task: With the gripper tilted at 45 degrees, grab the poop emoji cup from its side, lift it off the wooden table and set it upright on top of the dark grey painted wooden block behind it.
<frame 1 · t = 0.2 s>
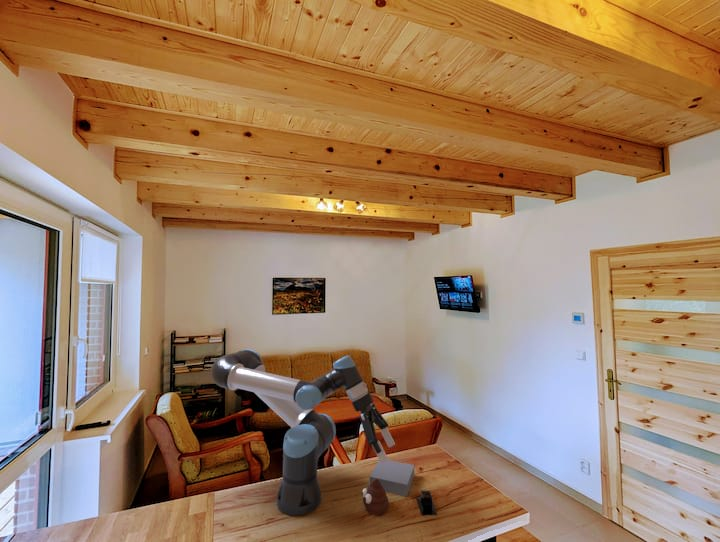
hand: (388, 453, 117), 15 cm above the table, tool tilted 30°, fingers open, 13 cm apart
black mounting bracket: (426, 508, 112), on the table
poop emoji: (375, 507, 112), on the table
grey block: (392, 481, 126), on the table
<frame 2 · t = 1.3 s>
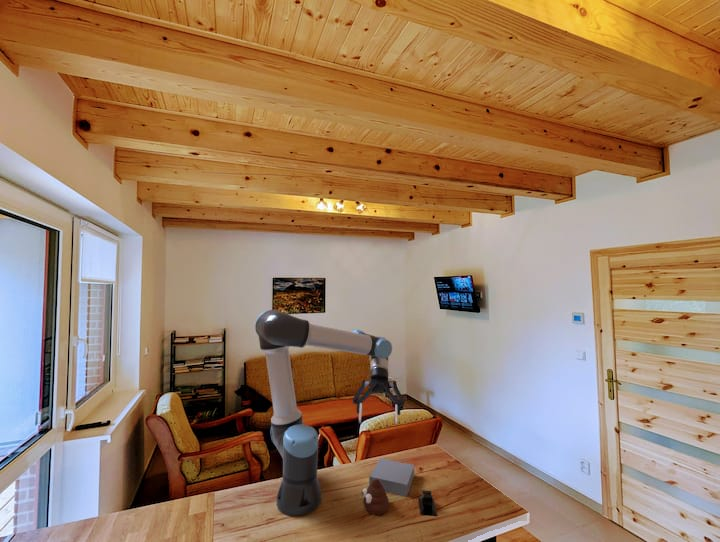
hand: (378, 422, 123), 23 cm above the table, tool tilted 45°, fingers open, 13 cm apart
nothing on the table moved.
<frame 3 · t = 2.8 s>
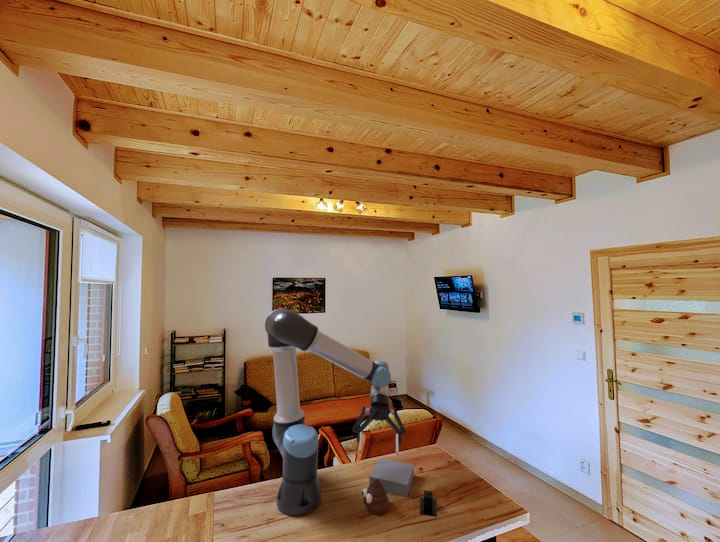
hand: (378, 452, 121), 13 cm above the table, tool tilted 45°, fingers open, 13 cm apart
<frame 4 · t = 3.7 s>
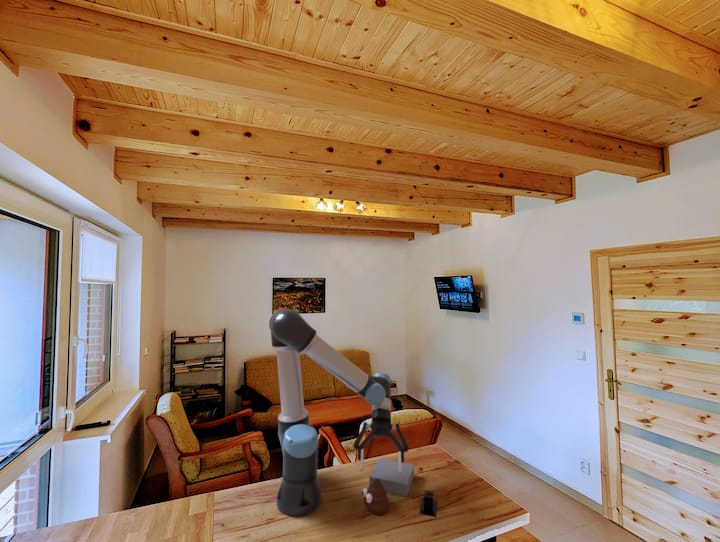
hand: (380, 471, 116), 9 cm above the table, tool tilted 45°, fingers open, 13 cm apart
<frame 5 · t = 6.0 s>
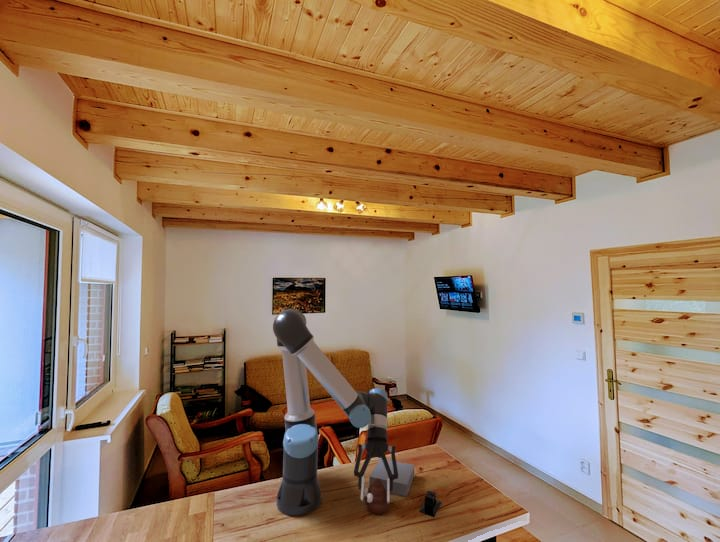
hand: (375, 501, 108), 4 cm above the table, tool tilted 45°, fingers closed on poop emoji, 8 cm apart
poop emoji: (376, 506, 112), on the table, touching gripper
when the fingers open (9 cm above the table, at t = 10.2 s): poop emoji drops 1 cm, resting on grey block.
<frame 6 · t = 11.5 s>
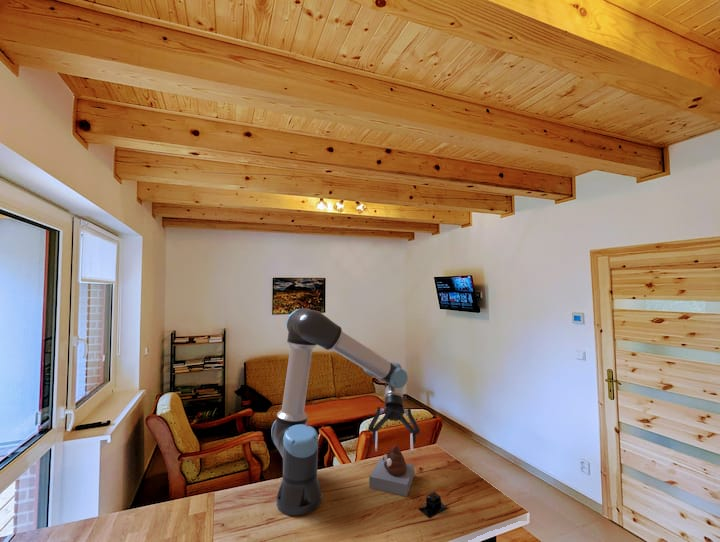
hand: (393, 451, 126), 11 cm above the table, tool tilted 45°, fingers open, 13 cm apart
black mounting bracket: (433, 510, 111), on the table
poop emoji: (394, 470, 127), point 4 cm above the table, touching grey block
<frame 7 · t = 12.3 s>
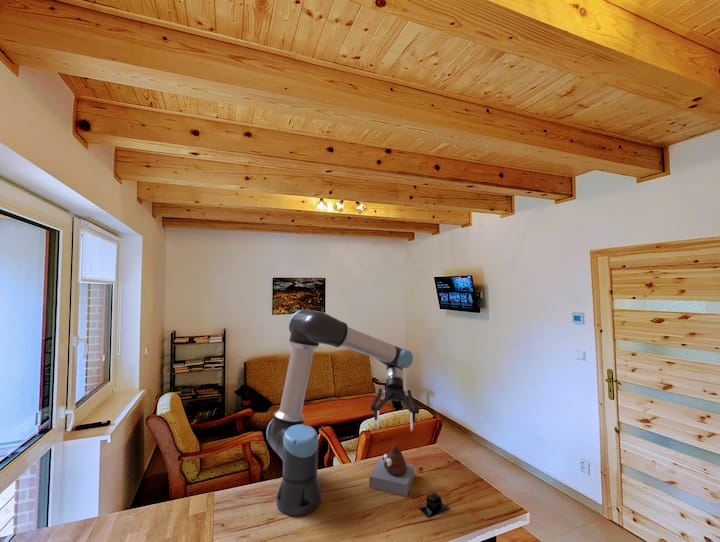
hand: (394, 429, 133), 17 cm above the table, tool tilted 45°, fingers open, 13 cm apart
nothing on the table moved.
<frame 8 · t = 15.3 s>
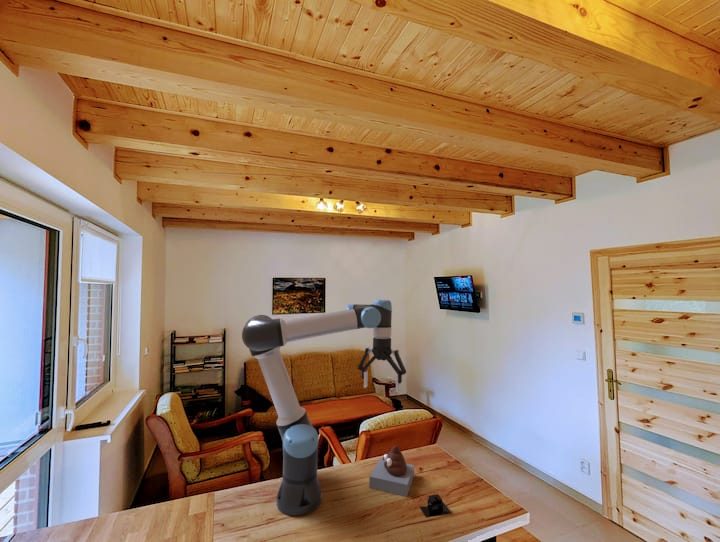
hand: (381, 389, 136), 32 cm above the table, tool pointing down, fingers open, 13 cm apart
at the end: poop emoji inside the target area on the grey block (1.1 cm from its centre), point 3.8 cm above the grey block's base; poop emoji tilted 0°; the gripper is holding nothing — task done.
